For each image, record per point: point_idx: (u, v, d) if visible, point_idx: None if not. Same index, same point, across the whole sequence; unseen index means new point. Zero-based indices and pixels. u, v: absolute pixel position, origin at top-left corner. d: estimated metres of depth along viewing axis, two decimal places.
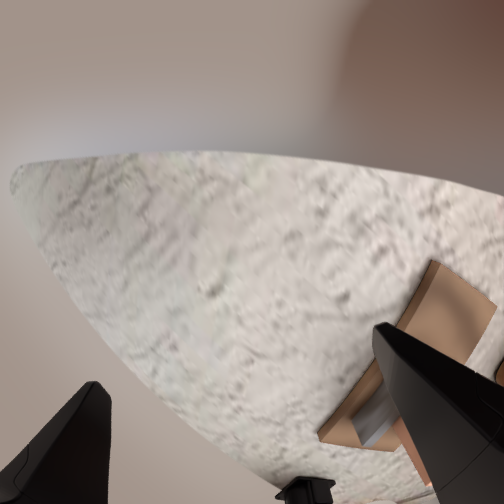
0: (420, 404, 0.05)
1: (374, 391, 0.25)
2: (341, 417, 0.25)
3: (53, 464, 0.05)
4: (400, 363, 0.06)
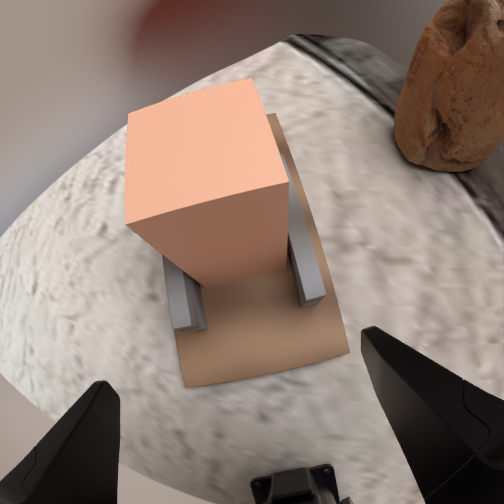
0: (406, 410, 0.05)
1: None
2: (175, 334, 0.20)
3: (62, 466, 0.05)
4: (387, 368, 0.06)
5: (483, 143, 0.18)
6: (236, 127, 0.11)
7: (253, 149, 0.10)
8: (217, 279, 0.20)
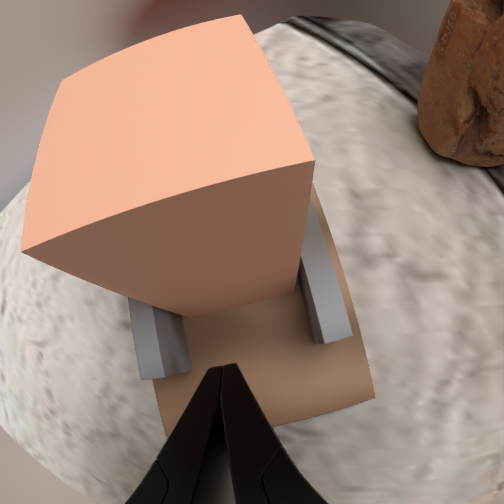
0: None
1: None
2: None
3: (201, 477, 0.05)
4: None
5: None
6: (211, 72, 0.05)
7: (240, 102, 0.05)
8: (202, 309, 0.14)
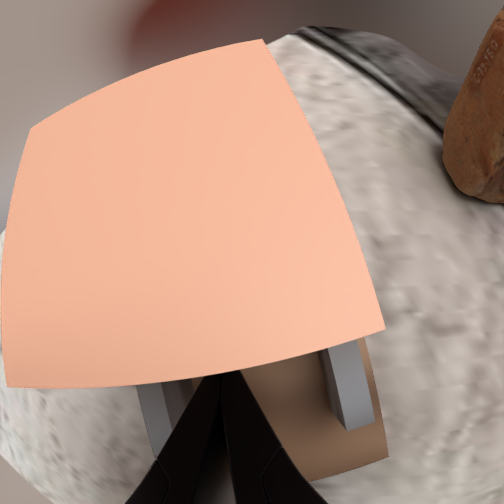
0: None
1: None
2: None
3: (201, 477, 0.05)
4: None
5: None
6: (228, 145, 0.04)
7: (278, 214, 0.04)
8: None
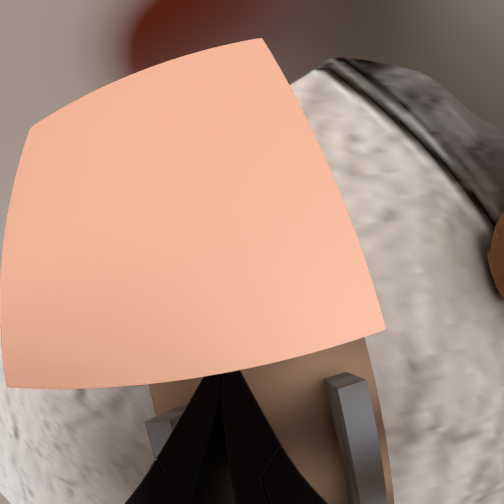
0: None
1: None
2: None
3: (201, 477, 0.05)
4: None
5: None
6: (228, 144, 0.04)
7: (278, 214, 0.04)
8: None
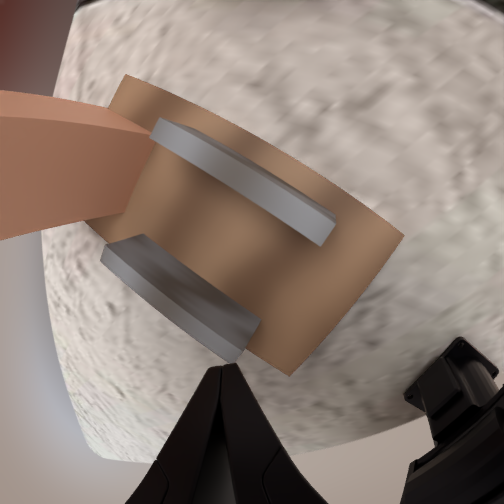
0: None
1: None
2: None
3: (201, 477, 0.05)
4: None
5: None
6: None
7: None
8: (115, 199, 0.18)
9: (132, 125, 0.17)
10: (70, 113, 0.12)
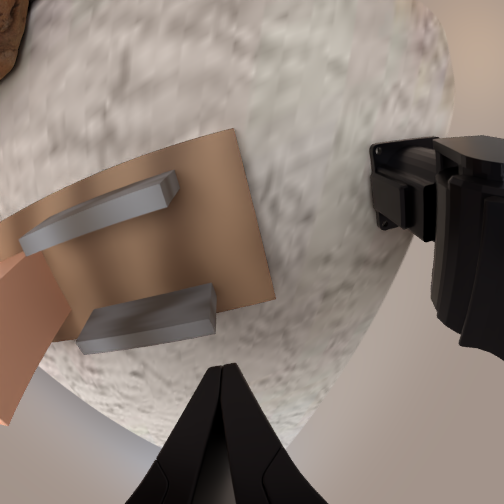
0: None
1: None
2: (221, 311, 0.21)
3: (201, 477, 0.05)
4: None
5: None
6: None
7: None
8: (56, 308, 0.18)
9: (18, 256, 0.16)
10: None
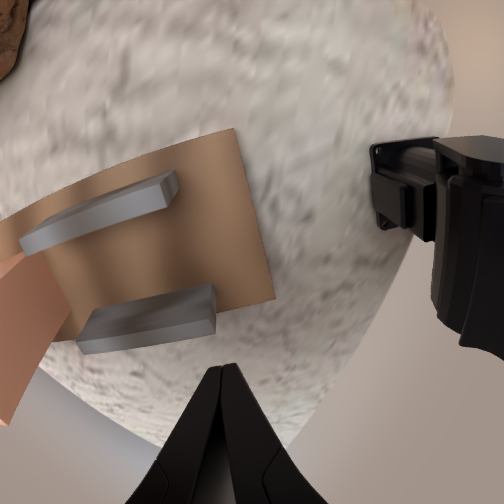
0: None
1: None
2: (221, 311, 0.21)
3: (201, 477, 0.05)
4: None
5: None
6: None
7: None
8: (56, 308, 0.18)
9: (18, 256, 0.16)
10: None
